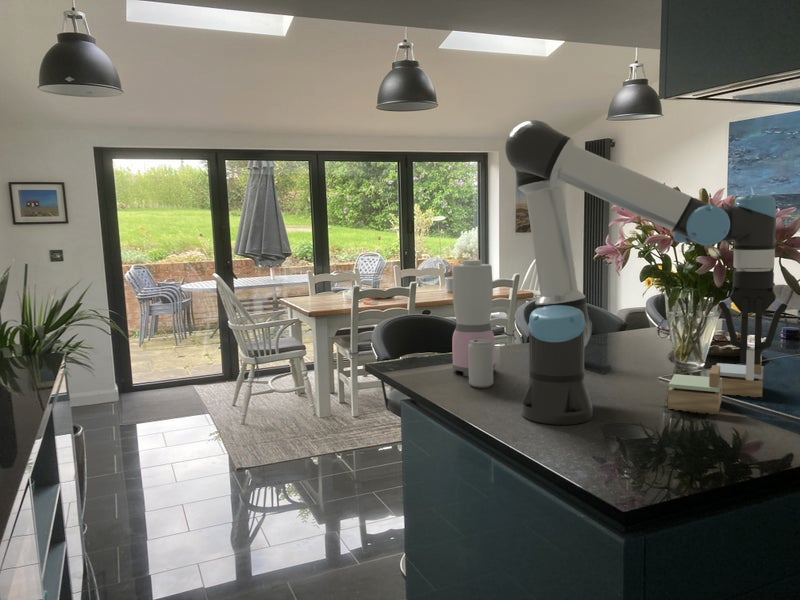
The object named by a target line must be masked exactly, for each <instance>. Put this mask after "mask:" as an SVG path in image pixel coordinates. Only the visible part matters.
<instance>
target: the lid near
mask: <svg viewBox="0 0 800 600" xmlns="http://www.w3.org/2000/svg"><path fill="white" fill-rule="evenodd" d="M721 384H722V378H720V366H717V364H713V365H711V368H710V371H709V376H702V375H689V374H679V373H677V374H676V373H674V374H673V376H672V378H671V379H670V381H669V382H668V388H680V389H691V390H701V391H712V392H719V391H720V387H721Z"/></svg>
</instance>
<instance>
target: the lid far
mask: <svg viewBox="0 0 800 600" xmlns="http://www.w3.org/2000/svg"><path fill="white" fill-rule="evenodd" d="M762 356H763V354H761V363H760V365H756V364H754V378H756V379H763V380H764V366H762V359H763V357H762ZM716 365H717V366H720V376H732V377H744V378H746V364H734V363H721V362H720V363H719V362H716Z"/></svg>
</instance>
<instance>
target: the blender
mask: <svg viewBox="0 0 800 600" xmlns="http://www.w3.org/2000/svg"><path fill="white" fill-rule="evenodd" d="M492 269H493V268H492V265H491V264H490V263H482V260H481V259H464V260H463V261H462V263H461V264H455V265H453V266H452V302H453V310H454V315H455V321H456V326H455V329H454V331H453V333H452V339H451V340H452V341H451V342H452V346H451V347H452V348H451V349H452V369H453V370H455V371H457V372H458V371H459V372H462V373H463V374H462V375H463V377H469V358H468V345H469V344H470V340H473V339H488V340H491V343H492V345H493V370H495V368H496V348H495V347H496V341H495V339H496V338H495V334H494V332H493V330H492V327H491V315H492V308H493V300H494V297H493V295H494V288H493V287H494V282H493V271H492Z"/></svg>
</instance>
